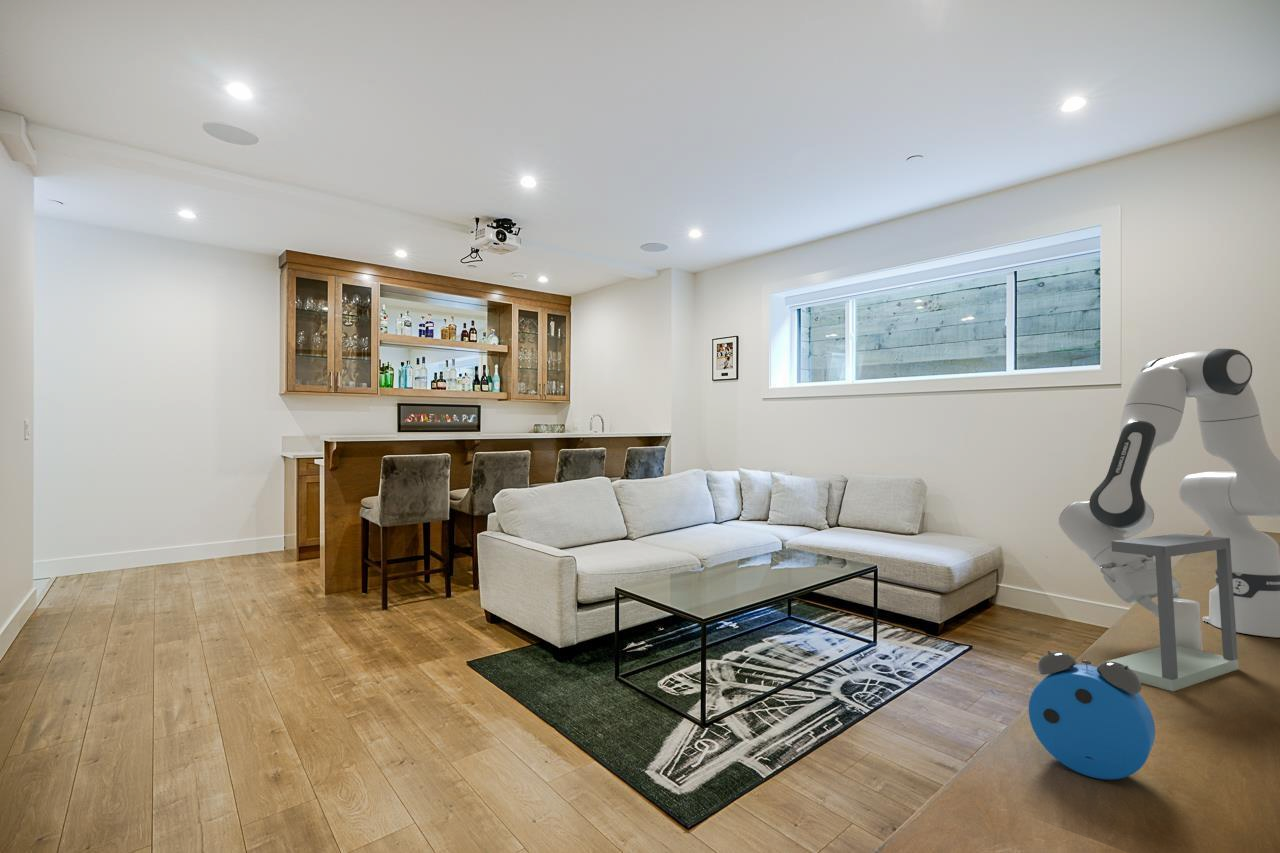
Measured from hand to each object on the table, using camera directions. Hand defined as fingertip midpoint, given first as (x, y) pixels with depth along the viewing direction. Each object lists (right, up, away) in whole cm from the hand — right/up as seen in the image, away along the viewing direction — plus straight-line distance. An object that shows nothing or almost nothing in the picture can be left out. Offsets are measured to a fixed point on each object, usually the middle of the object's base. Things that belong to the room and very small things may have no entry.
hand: (1174, 613), depth 132 cm
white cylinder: (+1, -8, -2) cm, 8 cm away
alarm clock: (-57, -5, -51) cm, 77 cm away
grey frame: (-13, -7, -13) cm, 20 cm away
